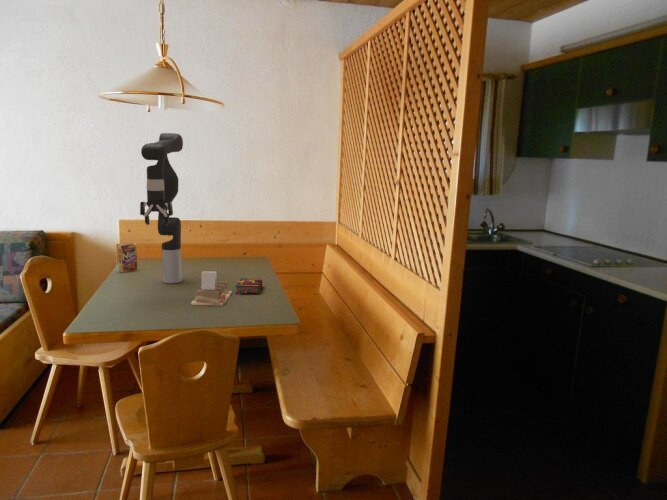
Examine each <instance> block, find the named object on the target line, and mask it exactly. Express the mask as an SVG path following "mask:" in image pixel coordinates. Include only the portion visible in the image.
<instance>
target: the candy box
mask: <svg viewBox="0 0 667 500" xmlns="http://www.w3.org/2000/svg"><path fill="white" fill-rule="evenodd" d="M137 246H138V245H137V243H135V242H132V243H131V242H129V243H121V244H118V245H117V248H118V249H117V250H118V251H117V252H118V272H120V273H122V272H123V273H128V272H134V271H135V272H137V271H138V247H137Z"/></svg>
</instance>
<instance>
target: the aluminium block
mask: <svg viewBox="0 0 667 500" xmlns="http://www.w3.org/2000/svg"><path fill="white" fill-rule="evenodd" d="M200 273H201V287H202V291H217V278H218V277H217V271H215V270H214V271H209V270H208V271H206V270H205V271H204V270H203V271H202V272H200Z"/></svg>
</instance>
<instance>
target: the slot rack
mask: <svg viewBox="0 0 667 500" xmlns="http://www.w3.org/2000/svg"><path fill="white" fill-rule="evenodd" d="M228 290H229V289H228V281H217V291H202V286H201V287H199V290H195V296H196V297H195V298H194V299H192V301H191V302H190V305H192V306H215V307H216V306H217V307H218V306H219V307H223V306H224V305H225V303H226V302H227V301H228V299H230V298H231V296H232V294H233V291H231V290H229V291H228Z"/></svg>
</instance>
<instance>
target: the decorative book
mask: <svg viewBox="0 0 667 500" xmlns="http://www.w3.org/2000/svg"><path fill="white" fill-rule="evenodd" d="M235 288H236V291H235V295H237V296H239V295H245V294H247V295H248V294H249V295H259V294H260V293H261V292H262V291H261V290H263V278H248V277H240V278H239V280H238V281H237V283H236V285H235Z"/></svg>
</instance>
